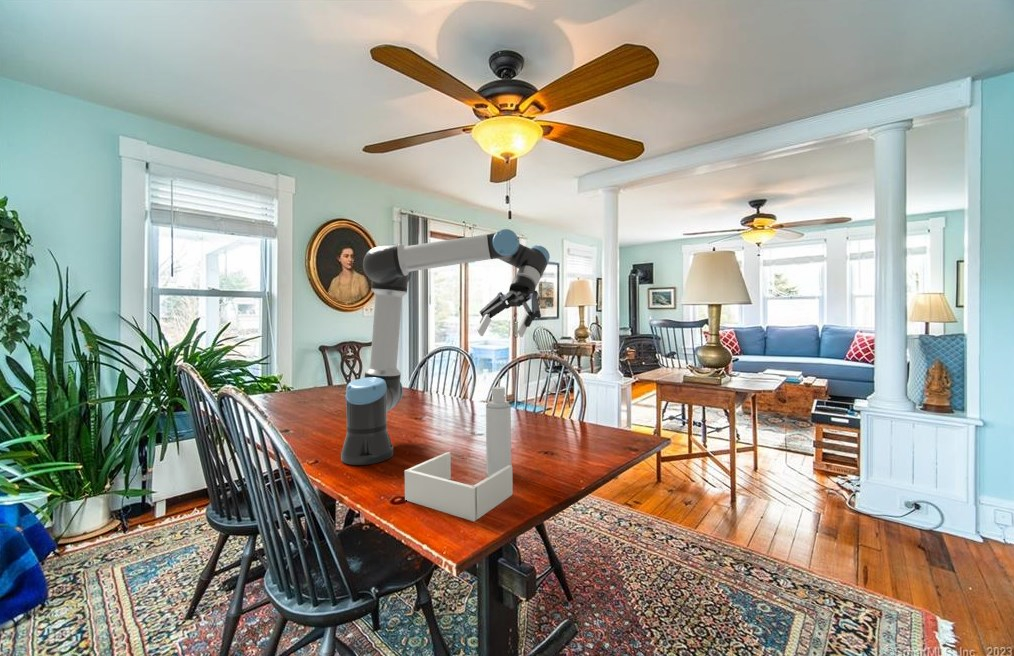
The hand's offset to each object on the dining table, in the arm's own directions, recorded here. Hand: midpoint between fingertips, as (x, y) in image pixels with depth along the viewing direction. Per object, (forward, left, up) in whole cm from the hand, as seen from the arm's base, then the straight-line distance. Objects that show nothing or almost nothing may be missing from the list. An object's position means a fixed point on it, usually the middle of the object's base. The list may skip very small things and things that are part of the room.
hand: (499, 333), depth 122 cm
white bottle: (+4, -7, -38) cm, 39 cm away
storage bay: (+4, -24, -38) cm, 45 cm away
